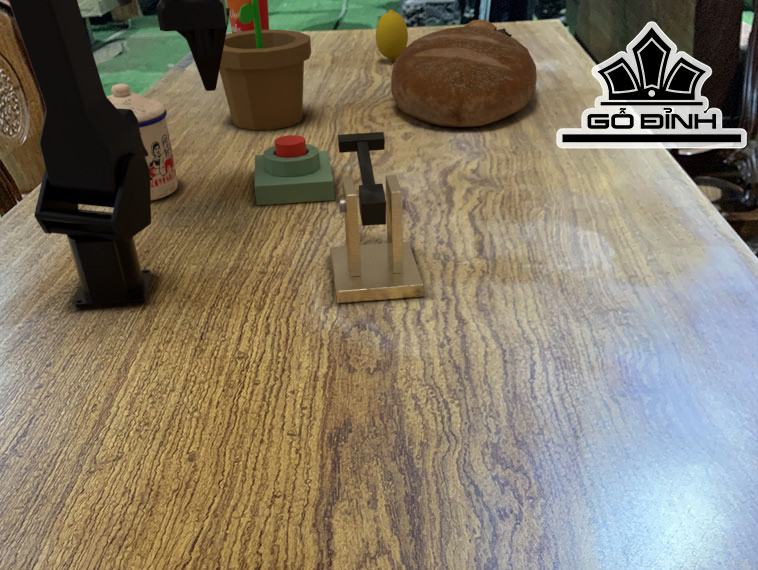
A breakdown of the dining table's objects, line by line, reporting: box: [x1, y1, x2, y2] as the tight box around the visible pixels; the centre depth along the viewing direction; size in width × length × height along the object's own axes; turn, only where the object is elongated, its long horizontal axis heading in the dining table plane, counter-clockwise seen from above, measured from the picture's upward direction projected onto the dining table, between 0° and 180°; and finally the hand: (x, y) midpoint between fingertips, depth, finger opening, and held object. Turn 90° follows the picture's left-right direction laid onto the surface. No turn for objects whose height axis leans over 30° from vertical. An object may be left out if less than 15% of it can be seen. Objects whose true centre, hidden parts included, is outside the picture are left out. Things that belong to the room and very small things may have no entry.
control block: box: [254, 143, 335, 206], centre depth 98 cm, size 11×9×4 cm
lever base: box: [329, 174, 424, 304], centre depth 77 cm, size 10×8×9 cm
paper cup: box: [225, 0, 270, 33], centre depth 140 cm, size 8×8×14 cm
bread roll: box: [463, 19, 513, 37], centre depth 153 cm, size 11×8×4 cm
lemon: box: [375, 9, 409, 63], centre depth 142 cm, size 6×6×8 cm
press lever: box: [337, 131, 387, 227], centre depth 78 cm, size 12×4×2 cm, turn 6°
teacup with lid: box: [106, 83, 179, 202], centre depth 97 cm, size 12×9×12 cm
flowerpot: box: [219, 0, 312, 131], centre depth 111 cm, size 14×14×30 cm
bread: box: [390, 26, 538, 128], centre depth 125 cm, size 22×37×8 cm, turn 175°
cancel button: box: [274, 134, 307, 158], centre depth 97 cm, size 4×4×2 cm
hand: (210, 90), depth 89 cm, fingers closed
